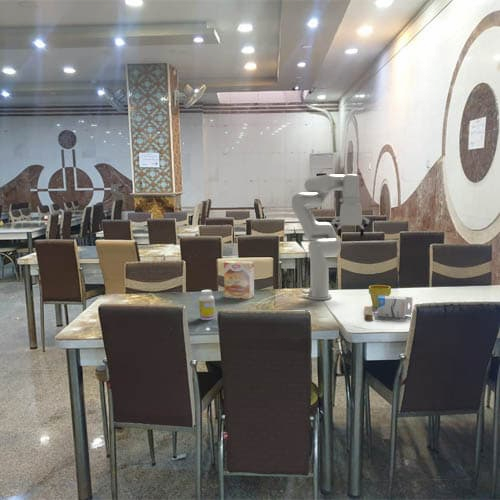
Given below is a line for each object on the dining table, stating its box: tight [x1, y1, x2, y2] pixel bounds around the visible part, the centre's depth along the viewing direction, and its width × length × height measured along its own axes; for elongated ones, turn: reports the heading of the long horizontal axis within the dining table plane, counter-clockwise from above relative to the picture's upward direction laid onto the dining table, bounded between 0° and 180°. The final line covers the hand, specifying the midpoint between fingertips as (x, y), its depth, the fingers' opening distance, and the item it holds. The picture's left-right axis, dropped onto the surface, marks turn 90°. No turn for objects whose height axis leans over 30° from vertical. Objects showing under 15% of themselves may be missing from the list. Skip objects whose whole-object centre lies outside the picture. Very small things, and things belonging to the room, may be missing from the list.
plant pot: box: [368, 284, 392, 309], centre depth 221 cm, size 10×10×10 cm
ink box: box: [377, 295, 413, 319], centre depth 202 cm, size 9×5×15 cm
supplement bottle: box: [198, 289, 216, 321], centre depth 204 cm, size 7×7×13 cm
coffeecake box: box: [223, 260, 255, 300], centre depth 247 cm, size 15×7×20 cm, turn 68°
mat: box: [373, 311, 402, 321], centre depth 203 cm, size 11×11×1 cm
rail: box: [363, 306, 374, 321], centre depth 204 cm, size 3×15×2 cm, turn 168°
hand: (350, 237), depth 214 cm, fingers open, 9 cm apart
